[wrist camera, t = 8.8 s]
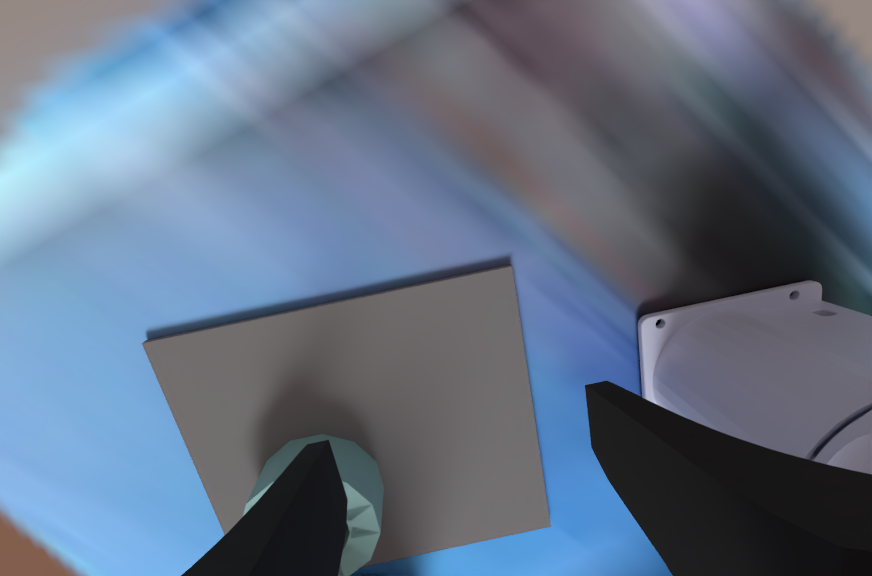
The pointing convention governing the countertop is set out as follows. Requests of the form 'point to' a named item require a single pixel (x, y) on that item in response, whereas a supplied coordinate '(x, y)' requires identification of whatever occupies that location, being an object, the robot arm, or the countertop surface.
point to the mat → (374, 405)
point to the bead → (359, 487)
